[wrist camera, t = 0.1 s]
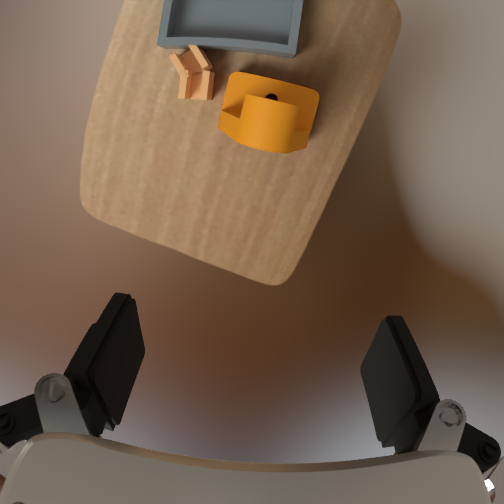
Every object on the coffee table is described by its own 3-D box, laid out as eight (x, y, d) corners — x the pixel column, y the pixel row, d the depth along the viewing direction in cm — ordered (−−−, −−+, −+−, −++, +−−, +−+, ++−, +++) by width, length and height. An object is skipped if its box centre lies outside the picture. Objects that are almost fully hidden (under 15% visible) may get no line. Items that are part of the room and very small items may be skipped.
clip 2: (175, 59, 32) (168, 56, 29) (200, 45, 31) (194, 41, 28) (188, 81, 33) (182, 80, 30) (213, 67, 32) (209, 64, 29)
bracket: (317, 92, 33) (340, 90, 23) (303, 144, 37) (319, 164, 26) (232, 72, 33) (219, 61, 22) (220, 125, 36) (203, 137, 26)
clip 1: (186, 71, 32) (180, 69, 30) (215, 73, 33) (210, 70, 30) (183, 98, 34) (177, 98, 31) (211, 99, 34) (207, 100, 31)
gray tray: (179, -28, 25) (172, -37, 22) (303, -20, 25) (307, -30, 22) (165, 48, 31) (157, 45, 28) (292, 58, 31) (295, 54, 28)
